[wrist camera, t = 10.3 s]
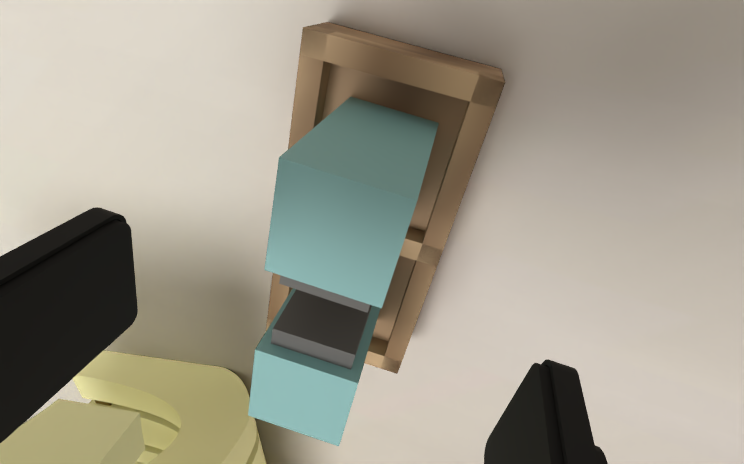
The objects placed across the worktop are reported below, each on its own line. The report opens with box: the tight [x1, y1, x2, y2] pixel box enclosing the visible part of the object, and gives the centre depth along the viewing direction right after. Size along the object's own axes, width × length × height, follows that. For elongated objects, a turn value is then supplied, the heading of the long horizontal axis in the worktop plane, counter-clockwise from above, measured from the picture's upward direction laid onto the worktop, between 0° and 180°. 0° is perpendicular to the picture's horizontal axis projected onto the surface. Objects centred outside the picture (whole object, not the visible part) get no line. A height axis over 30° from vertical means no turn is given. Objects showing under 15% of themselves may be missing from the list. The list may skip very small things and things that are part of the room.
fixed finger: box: [248, 288, 381, 446], centre depth 20 cm, size 4×5×8 cm
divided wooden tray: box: [266, 22, 505, 373], centre depth 22 cm, size 8×16×3 cm, turn 167°
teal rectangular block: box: [265, 97, 439, 313], centre depth 17 cm, size 4×5×8 cm
